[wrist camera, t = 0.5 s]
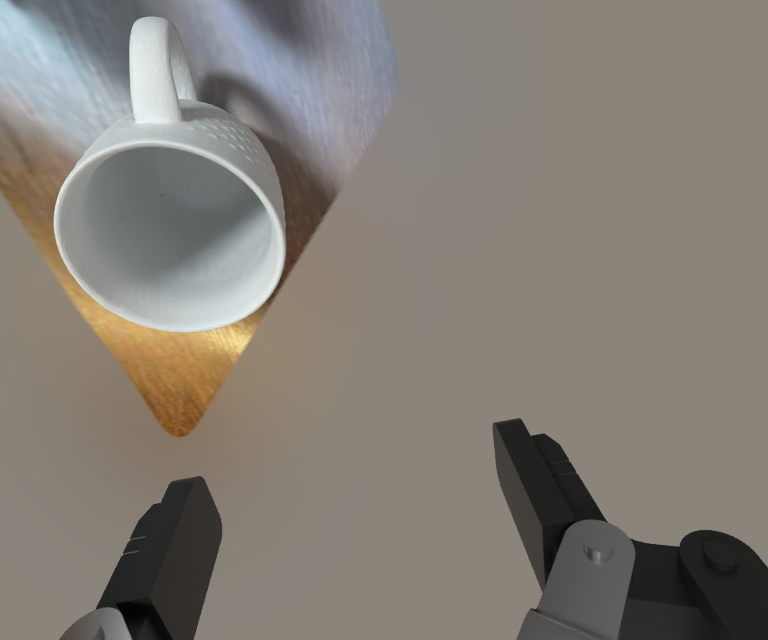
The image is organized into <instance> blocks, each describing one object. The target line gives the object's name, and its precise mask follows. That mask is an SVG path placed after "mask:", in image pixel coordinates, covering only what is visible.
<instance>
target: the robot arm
mask: <svg viewBox="0 0 768 640" xmlns="http://www.w3.org/2000/svg"><path fill="white" fill-rule="evenodd" d="M493 437H494V448H495V458H496V467H497V474H498V478H499V482H500V486H501V488H502V491H503V494H504V496H505V499H506V501H507V504H508V507H509V509H510V511H511V514H512V516H513V519H514V522H515V524H516V527H517V529H518V532H519V534H520V537H521V539H522V542H523V544H524V547H525V550H526V552H527V554H528V557H529V560H530V562H531V565H532V567H533V570H534V572H535V575H536V577H537V580H538V582H539V585H540V587H541V590H542V593H543V594H542V597H541V599H540V602H539V605H538V607H537V608H536V609H533V608H531V609H530V610H529V611H528V613H527V615H526V617H525V619H524V621H523V624H522V626H521V629H520V632H519V634H518V637H517V640H768V567H767V566H766V565H765V564H764V563H763V561H762V560H761V559H760V558H759V556H758V555H757V554H756V553H755V552H754V551H753V550H752V549H751V548H750V547H749V546H748V545H746V544H745V543H743V542H742V541H740V540H739V539H737V538H735V537H733V536H730V535H728V534H725V533H722V532H718V531H712V530H699V531H694V532H692V533H689V534H688V535H686V536H685V537H684V538H683V539H682V541H681V543H680V547H676V546H667V545H656V544H649V543H643V542H639V541H635V540H633V539H630V538H629V537H628V536H627V535H626V534H625V533H624V532H623V531H622V530H620V529H619V528H618V527H616V526H614V525H612V524H610V523H608V522H607V521H606V519H605V518H604V516H603V515H602V513H601V511H600V510H599V508H598V507H597V505H596V503H595V502H594V500H593V498H592V497H591V495H590V493H589V492H588V490H587V488H586V487H585V485H584V483H583V482H582V480H581V479H580V477H579V475H578V474H576V471H575V469H574V467H573V465H572V464H571V463H570V462H569V459H568V457H567V456H566V454H565V452H564V451H563V449H562V447H561V446H560V445H559V444H558V443H557V442H555V441H554V440H553V439H551V438H550V437H549V436H547V435H546V434H539V435H533V436H530V434H529V432H528V430H527V428H526V427H525V425H524V423H523V421H522V420H521V419H520V418H518V419H512V420H507V421H501V422H496V423H493ZM221 538H222V522H221V518H220V515H219V513H218V510H217V508H216V505H215V504H214V501H213V498H212V496H211V494H210V491H209V489H208V487H207V484H206V482H205V480H204V479H203V478H202V477H201V476H198V477H192V478H187V479H182V480H176V481H172V482H171V483H170V484H169V486H168V488H167V490H166V493H165V495H164V497H163V499H162V502H161V503H158V504H153V505H152V506H151V508H150V509H149V510H148V511H147V512H146V513H145V514H144V515H143V517H142V518H141V519H140V520H139V521H138V523H137V525H136V527H135V529H134V531H133V533H132V535H131V537H130V542H128V544H127V546H126V548H125V550H124V552H123V556H121V558H120V560H119V562H118V564H117V567H116V568H115V570H114V572H113V574H112V577H111V579H110V581H109V583H108V585H107V587H106V589H105V591H104V593H103V595H102V597H101V599H100V601H99V603H98V605H97V608H96V610H94V611H92V612H90V613H88V614H86V615H84V616H83V617H81V618H80V619H79V620H77V621H76V622H75V623H74V624H72V626H71V627H69V628H68V629H67V630H66V631H65V633H64V634H63V635H62V636H61V638H60V639H59V640H194V636H195V633H196V629H197V625H198V622H199V618H200V615H201V611H202V607H203V604H204V600H205V597H206V593H207V590H208V586H209V582H210V578H211V575H212V572H213V568H214V564H215V561H216V557H217V554H218V550H219V546H220V543H221Z"/></svg>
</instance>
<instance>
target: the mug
mask: <svg viewBox="0 0 768 640" xmlns="http://www.w3.org/2000/svg"><path fill="white" fill-rule="evenodd" d="M129 54H130V58H129V63H130V90H131V100H132V107H133V112H132V113H130V114H127V115H125V116H124V117H123V118H121V119H120V120H119V121H117V122H115V123H114V124H113V125H112V126H111V127H110V128H109V129H107V130H106V131H104V132H103V133H102V135H101V136H100V137H99V138H97V139H96V141H95V142H93V144H92V146H91V147H90V148H89V149H88V150H86V152H85V153H84V156H83V157H82V158H81V159H80V160H79V161H78V162H77V164H76V166H75V168H74V169H73V170H72V171H71V173H70V174H69V176H68V177H67V179H66V180H65V182H64V184H63V186H62V188H61V190H60V192H59V195H58V198H57V202H56V206H55V212H54V232H55V237H56V242H57V245H58V249H59V252H60V254H61V257H62V259H63V261H64V263H65V264H66V266H67V268H68V270H69V271H70V273H71V274H72V275H73V277H74V278H75V280H76V281H77V282H78V283H79V284H80V286H81V287H82V288H83V289H84V290H85V291H86V292H87V293H88V294H89V295H90V296H91V297H92V298H93V299H95V300H96V301H97V302H98V303H100V304H101V305H102V306H103V307H105V308H106V309H108V310H109V311H111V312H113V313H114V314H116V315H118V316H120V317H122V318H124V319H126V320H128V321H130V322H133V323H136V324H138V325H141V326H145V327H149V328H152V329H157V330H162V331H168V332H180V333H189V332H202V331H209V330H214V329H218V328H222V327H225V326H228V325H231V324H233V323H236V322H238V321H240V320H242V319H244V318H245V317H247V316H249V315H250V314H252V313H253V312H254V311H256V310H257V309H258V308H259V307H260V306H262V305H263V304H264V303H265V302H266V301H267V299H268V298H269V297H270V296H271V294H272V293H273V291H274V290H275V288H276V287H277V285H278V283H279V280H280V278H281V275H282V272H283V269H284V265H285V259H286V233H285V228H286V222H285V219H284V218H285V211H284V208H283V205H284V202H283V198H282V190H281V187H280V184H279V178H278V176H277V174H276V168H275V166H274V165H273V163H272V161H271V158H270V156H269V154H268V152H267V151H266V150H265V148H264V146H263V144H262V143H261V142H260V141H259V139H258V137H257V136H256V135H255V134H254V132H252V131H251V130H250V129H249V128H248V127H247V126H246V124H244V123H242V122H241V121H240V120H239V119H237V118H235V117H234V116H233V115H231V114H229V113H227V112H226V111H225V110H223V109H221V108H219V107H215V106H213V105H211V104H207V103H205V102H199V101H198V98H197V93H196V90H195V87H194V83H193V79H192V74H191V70H190V67H189V64H188V61H187V57H186V54H185V51H184V48H183V45H182V42H181V39H180V36H179V33H178V31H177V29H176V27H175V26H174V24H173V23H172V22H171V21H169V20H167V19H164V18H160V17H144V18H140V19H138V20H137V21H135V23H134V25H133V27H132V30H131V35H130V46H129Z"/></svg>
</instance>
